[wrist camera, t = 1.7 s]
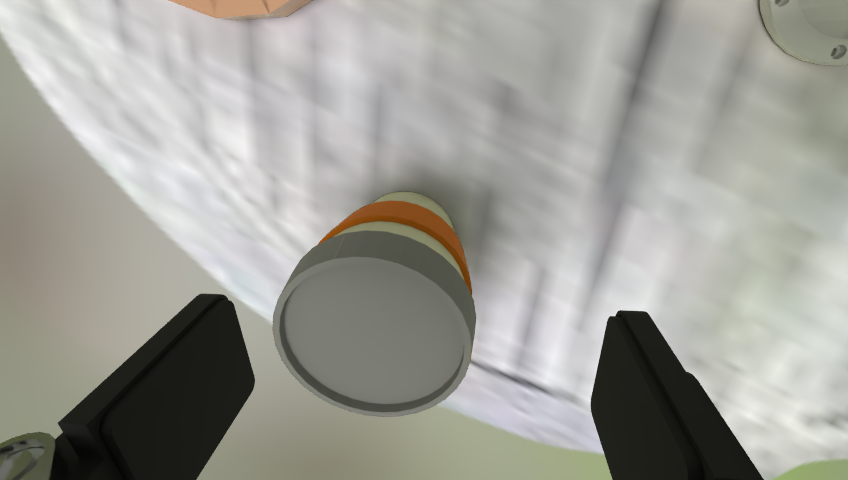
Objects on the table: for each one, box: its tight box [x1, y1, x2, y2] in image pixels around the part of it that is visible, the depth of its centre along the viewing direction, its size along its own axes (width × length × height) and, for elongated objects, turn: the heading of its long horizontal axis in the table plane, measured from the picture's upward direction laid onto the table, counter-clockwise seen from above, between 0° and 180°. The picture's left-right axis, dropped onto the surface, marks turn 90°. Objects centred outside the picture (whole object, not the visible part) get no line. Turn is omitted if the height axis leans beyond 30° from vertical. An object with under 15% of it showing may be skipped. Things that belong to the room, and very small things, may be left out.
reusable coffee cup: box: [273, 192, 476, 417], centre depth 31 cm, size 13×13×15 cm
